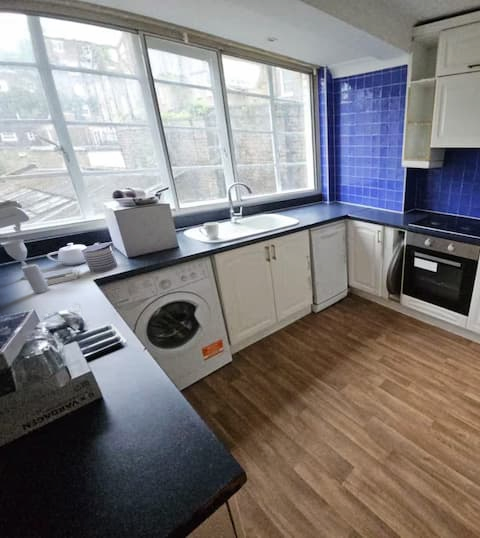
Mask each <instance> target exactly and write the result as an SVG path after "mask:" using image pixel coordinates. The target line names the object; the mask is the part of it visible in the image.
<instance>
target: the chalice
mask: <svg viewBox="0 0 480 538" xmlns="http://www.w3.org/2000/svg"><path fill="white" fill-rule="evenodd" d="M0 245H1V246H3V247H4V248H3V249H4V250H5V251H6V253H7V255H9V256H10V257H11V258H12V259H14V260H16V262H17V261H18V262H20V263H21V266H22V267H23V266H26V265H27V263H26V261H25V260H26V259H27V256H28V249H27V247H26V245H25V243H24V239H22V238H21V239H12V240H8V241H4V242H0ZM22 279H23V280H27V278H26V276H25V274H24V273H23V278H22Z"/></svg>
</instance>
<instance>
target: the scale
mask: <svg viewBox="0 0 480 538" xmlns="http://www.w3.org/2000/svg"><path fill="white" fill-rule="evenodd" d="M41 273H42V275H43V277H44V279H45V281H46V283H47V285H48V286H49V285H54V284H60V283H64V282H68V281H72V280H76V279H78V274H79V271H78V268H77V267H76V266H75V267H74V266H72V267H67V268H61V269H57V270H53V271H47V272H41Z"/></svg>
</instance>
